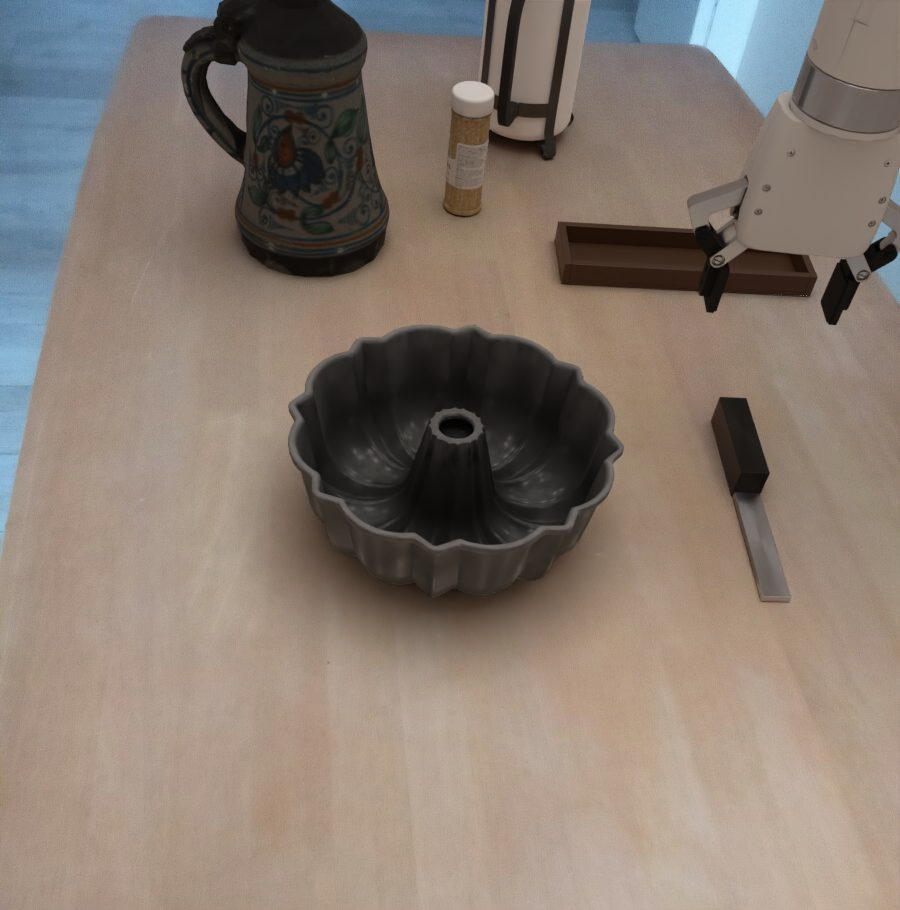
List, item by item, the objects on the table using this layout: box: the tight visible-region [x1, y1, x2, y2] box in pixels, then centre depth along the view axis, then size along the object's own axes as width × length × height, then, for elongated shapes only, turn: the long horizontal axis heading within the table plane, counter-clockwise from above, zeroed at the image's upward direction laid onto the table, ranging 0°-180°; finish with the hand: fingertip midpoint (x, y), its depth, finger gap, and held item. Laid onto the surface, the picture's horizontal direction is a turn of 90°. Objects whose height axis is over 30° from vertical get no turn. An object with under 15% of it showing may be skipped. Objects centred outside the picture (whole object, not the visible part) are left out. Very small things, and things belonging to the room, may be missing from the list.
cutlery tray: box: [554, 220, 819, 297], centre depth 112 cm, size 28×8×2 cm, turn 92°
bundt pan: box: [287, 324, 625, 599], centre depth 84 cm, size 26×26×10 cm
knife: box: [710, 396, 792, 603], centre depth 90 cm, size 22×3×3 cm, turn 1°
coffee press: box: [477, 0, 592, 160], centre depth 117 cm, size 17×16×30 cm
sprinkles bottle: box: [442, 80, 494, 217], centre depth 112 cm, size 5×5×13 cm
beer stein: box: [180, 0, 390, 278], centre depth 101 cm, size 16×19×25 cm
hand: (768, 308), depth 81 cm, fingers open, 9 cm apart
